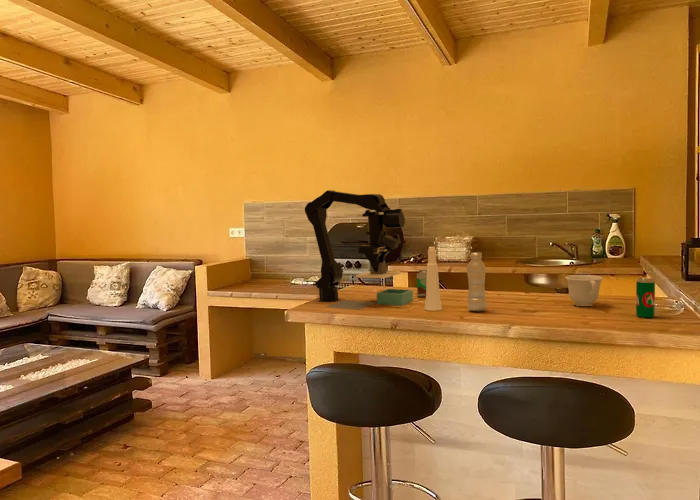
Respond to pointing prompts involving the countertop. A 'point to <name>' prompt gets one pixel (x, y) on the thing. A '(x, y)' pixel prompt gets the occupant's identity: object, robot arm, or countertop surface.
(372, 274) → the lid
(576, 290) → the teacup
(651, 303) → the soda can
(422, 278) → the food container
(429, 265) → the cosmetic bottle
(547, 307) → the countertop surface
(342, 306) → the mat
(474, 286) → the plastic bottle
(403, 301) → the dish
